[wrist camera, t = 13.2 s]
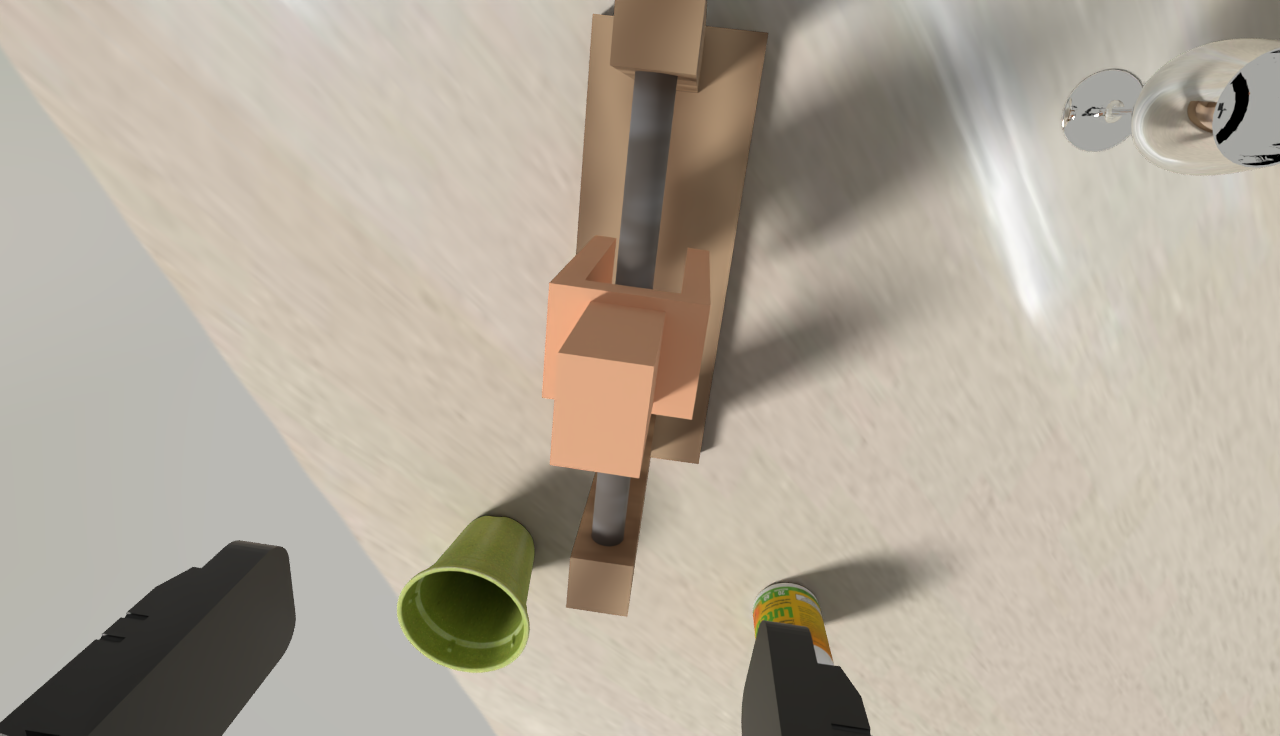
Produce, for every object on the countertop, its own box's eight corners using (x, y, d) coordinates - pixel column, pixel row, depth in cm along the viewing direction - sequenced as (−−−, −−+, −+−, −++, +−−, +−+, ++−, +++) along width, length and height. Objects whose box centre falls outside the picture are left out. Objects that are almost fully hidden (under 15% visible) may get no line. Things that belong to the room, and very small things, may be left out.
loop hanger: (587, 320, 37) (499, 470, 21) (595, 235, 35) (504, 329, 19) (695, 335, 37) (688, 499, 21) (709, 250, 35) (712, 359, 19)
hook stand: (566, 435, 48) (495, 605, 31) (596, 17, 37) (513, -65, 21) (698, 453, 47) (697, 635, 31) (765, 36, 37) (819, -33, 20)
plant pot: (508, 609, 55) (475, 693, 47) (420, 543, 53) (371, 619, 45) (578, 547, 52) (556, 626, 44) (488, 475, 50) (447, 543, 42)
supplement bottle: (785, 569, 51) (803, 666, 42) (833, 606, 51) (861, 709, 42) (738, 607, 52) (746, 709, 43) (785, 643, 53) (803, 749, 44)
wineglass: (1122, 33, 35) (1315, -7, 24) (1176, 112, 37) (1384, 108, 25) (1029, 111, 37) (1169, 107, 26) (1083, 184, 38) (1240, 210, 27)
